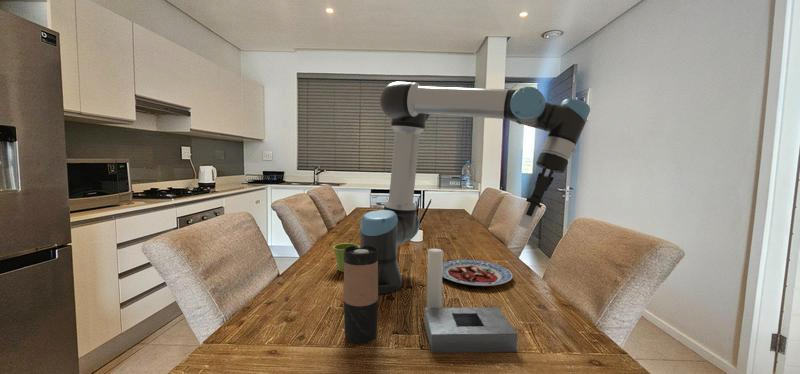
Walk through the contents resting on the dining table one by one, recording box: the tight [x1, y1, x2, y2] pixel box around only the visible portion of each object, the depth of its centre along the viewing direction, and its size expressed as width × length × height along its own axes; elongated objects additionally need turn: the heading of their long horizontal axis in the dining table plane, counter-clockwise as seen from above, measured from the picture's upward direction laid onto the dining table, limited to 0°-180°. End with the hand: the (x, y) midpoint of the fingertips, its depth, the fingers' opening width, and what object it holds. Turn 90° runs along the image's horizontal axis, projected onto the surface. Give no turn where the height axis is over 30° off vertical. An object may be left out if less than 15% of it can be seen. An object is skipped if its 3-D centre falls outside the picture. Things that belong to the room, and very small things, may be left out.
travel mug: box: [343, 245, 379, 345], centre depth 71 cm, size 8×8×20 cm
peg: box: [426, 248, 444, 308], centre depth 85 cm, size 4×4×16 cm
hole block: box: [423, 306, 518, 354], centre depth 72 cm, size 18×12×4 cm, turn 92°
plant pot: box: [332, 243, 360, 273], centre depth 115 cm, size 9×9×9 cm
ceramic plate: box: [442, 259, 513, 287], centre depth 111 cm, size 26×26×3 cm
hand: (524, 226), depth 89 cm, fingers open, 13 cm apart
